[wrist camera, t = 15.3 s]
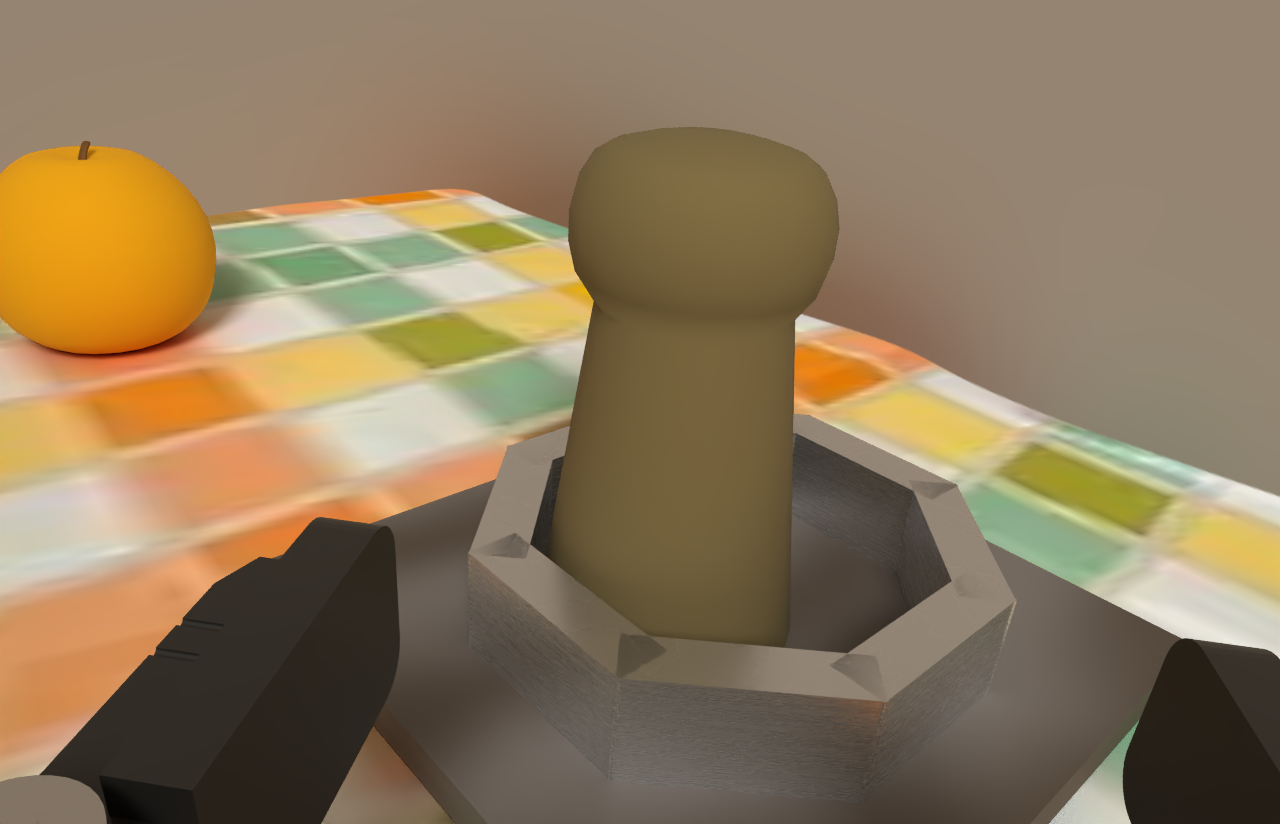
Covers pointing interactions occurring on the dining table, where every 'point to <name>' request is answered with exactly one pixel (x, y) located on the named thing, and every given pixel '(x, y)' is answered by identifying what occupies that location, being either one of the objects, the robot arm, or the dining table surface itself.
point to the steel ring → (738, 673)
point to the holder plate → (819, 620)
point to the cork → (690, 378)
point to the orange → (100, 250)
